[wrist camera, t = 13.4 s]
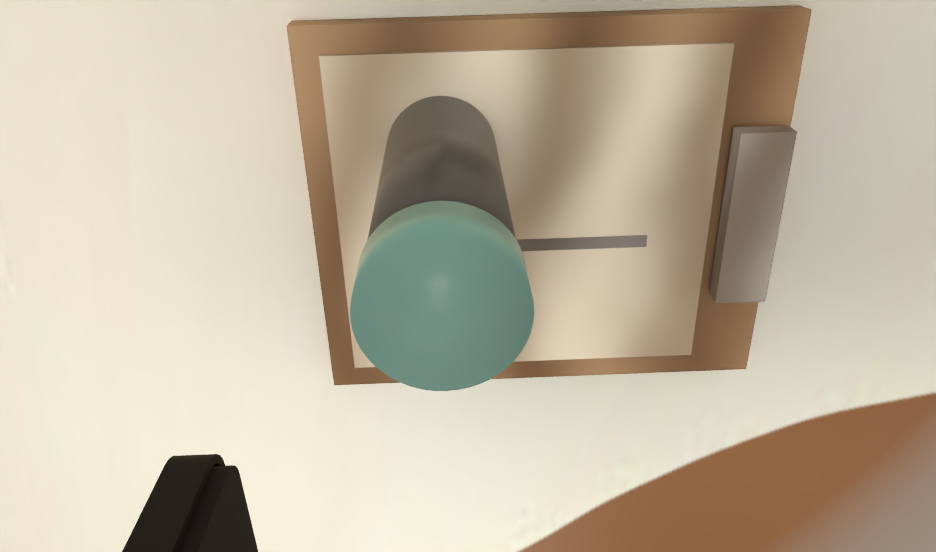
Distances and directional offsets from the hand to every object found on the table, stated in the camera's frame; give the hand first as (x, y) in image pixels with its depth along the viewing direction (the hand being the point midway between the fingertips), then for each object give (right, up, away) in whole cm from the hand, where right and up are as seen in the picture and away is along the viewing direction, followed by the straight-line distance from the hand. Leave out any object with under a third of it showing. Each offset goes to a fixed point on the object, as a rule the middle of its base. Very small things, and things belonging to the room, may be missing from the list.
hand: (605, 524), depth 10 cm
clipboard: (+1, +6, +21) cm, 21 cm away
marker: (-3, +8, +18) cm, 20 cm away
